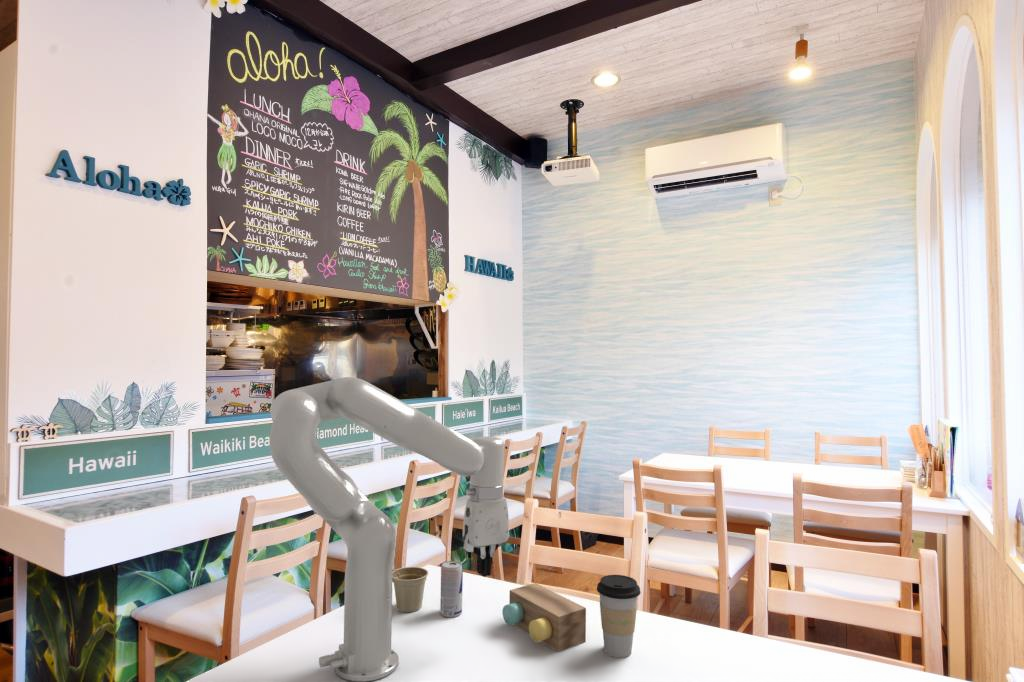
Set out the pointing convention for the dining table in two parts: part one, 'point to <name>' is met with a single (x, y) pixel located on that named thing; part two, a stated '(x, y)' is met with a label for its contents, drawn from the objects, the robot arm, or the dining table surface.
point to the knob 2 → (540, 629)
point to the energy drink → (451, 589)
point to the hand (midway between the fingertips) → (483, 574)
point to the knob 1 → (513, 613)
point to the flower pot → (409, 587)
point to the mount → (552, 615)
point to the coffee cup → (618, 613)
